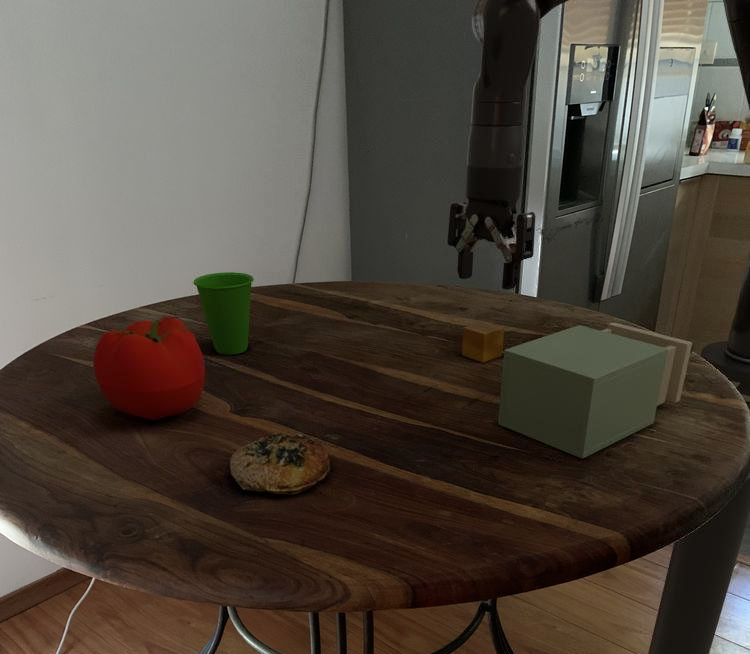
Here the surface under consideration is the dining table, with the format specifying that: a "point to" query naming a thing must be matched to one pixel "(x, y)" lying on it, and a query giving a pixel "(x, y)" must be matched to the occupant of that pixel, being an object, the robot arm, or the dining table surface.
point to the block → (482, 341)
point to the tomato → (150, 368)
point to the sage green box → (580, 388)
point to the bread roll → (280, 464)
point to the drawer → (674, 360)
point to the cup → (226, 309)
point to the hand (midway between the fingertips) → (486, 283)
